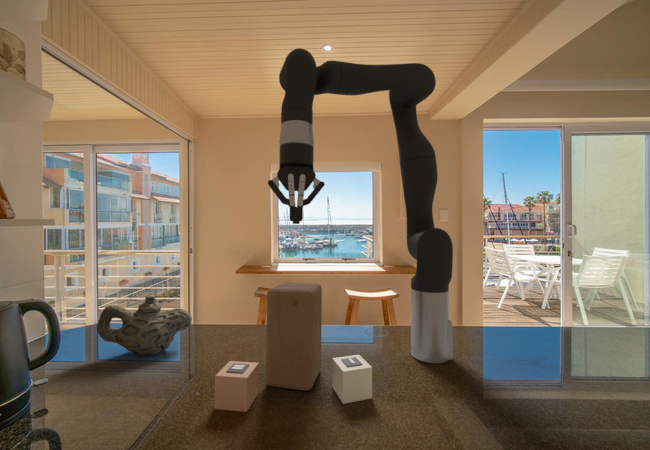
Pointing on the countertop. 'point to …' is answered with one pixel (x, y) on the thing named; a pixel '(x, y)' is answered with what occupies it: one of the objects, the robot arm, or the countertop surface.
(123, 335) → the teapot
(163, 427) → the countertop surface
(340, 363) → the cream cube
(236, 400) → the pink cube
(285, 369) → the wooden block
